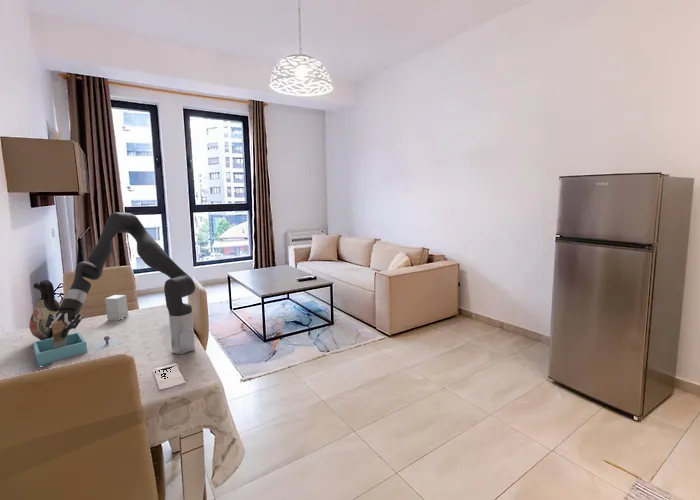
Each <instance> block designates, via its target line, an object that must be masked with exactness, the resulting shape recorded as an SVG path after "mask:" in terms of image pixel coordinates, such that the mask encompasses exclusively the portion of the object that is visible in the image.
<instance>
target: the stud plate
mask: <svg viewBox="0 0 700 500" xmlns="http://www.w3.org/2000/svg"><path fill="white" fill-rule="evenodd" d="M123 344H124V343H123V342H122V341H121V340H120V339H119V338H118V337H113V338H110V336H108V335H106V336H104V337H103V340H102V341H97V342H94V343H93V342H92V343H91V345H92V347H93V348H94V350H96V351H100V350H104V349H107V348H108V349H109V348H111V347H112V348H113V347H114V346H115V347H116V346H120V345H123Z"/></svg>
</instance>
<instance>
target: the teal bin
mask: <svg viewBox="0 0 700 500" xmlns="http://www.w3.org/2000/svg"><path fill="white" fill-rule="evenodd" d="M65 339H66V343H67V346H64V347H60V348H56V349H54V345H53V338H50V339H46V340H37V341H33V342H32V345H33V351H34V356H35V359H36V363H38V364H37V366H39V367H40V366H45V367H47V366H46V365H49V366H52V364H53V362H54V361H58V360H62V359H66V358H69V357H74V356H78V355H82V354H85V353H88V345H87V340H85V338H84V336H83V335H82V334H81V332H80V331H78V332H73V333H70V334H69V333H68V334H67V336H66V337H65ZM39 367H38V368H39Z"/></svg>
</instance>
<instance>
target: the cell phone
mask: <svg viewBox="0 0 700 500" xmlns="http://www.w3.org/2000/svg"><path fill="white" fill-rule="evenodd" d="M174 366H178V367H179V364H178V363H177V364H176V362H175V363H172V364H168V365H167V364H166V365H164V366H159V367H156V368H154V369H157V370H158V369H160V370H163V372H164V370H166V371H167V369H170V368H172V367H174ZM160 370H158V371H159V372H160ZM170 370H171V369H170ZM153 371H154V370H153V369H152V372H153ZM167 372H168V371H167ZM170 372H171V371H170ZM155 373H156V371H155ZM163 374H164V376H162V375H163ZM163 374H161V376H162V377H166V376H165V375H166V373H163ZM162 377H161V378H162ZM167 378H168V377H167ZM164 379H166V378H164Z"/></svg>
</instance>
